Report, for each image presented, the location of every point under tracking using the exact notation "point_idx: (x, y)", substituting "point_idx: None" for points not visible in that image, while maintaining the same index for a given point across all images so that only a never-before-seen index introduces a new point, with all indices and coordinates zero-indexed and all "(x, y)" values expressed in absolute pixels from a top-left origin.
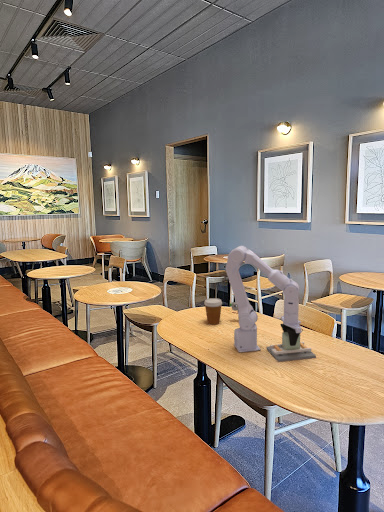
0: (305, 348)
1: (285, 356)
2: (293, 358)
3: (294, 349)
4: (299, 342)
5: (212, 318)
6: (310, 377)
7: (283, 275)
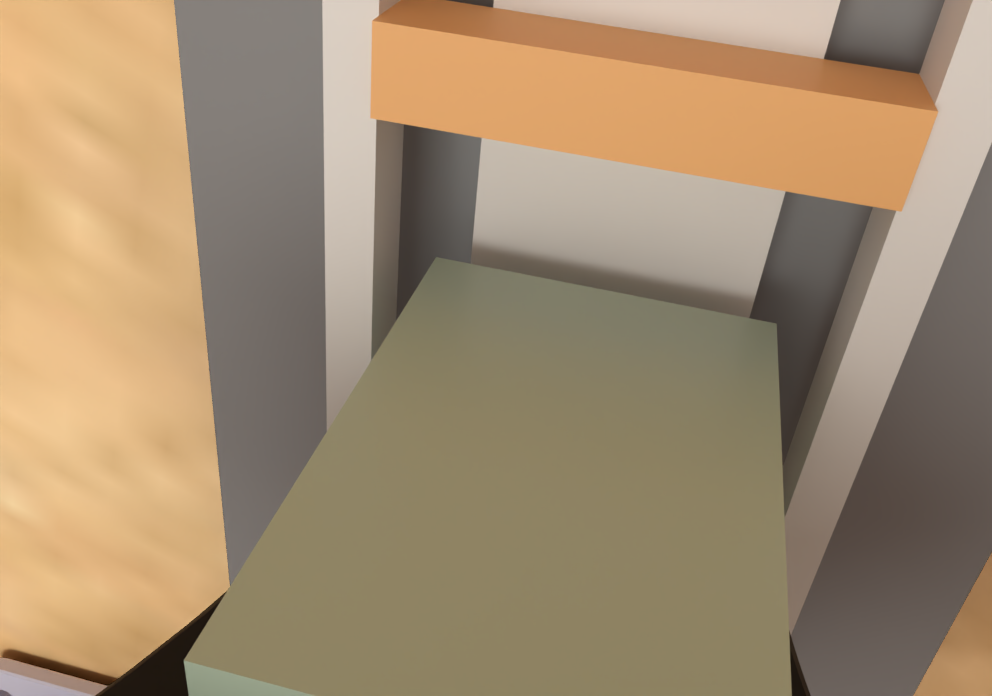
0: (920, 193)
1: None
2: (961, 581)
3: None
4: (777, 508)
5: None
6: None
7: None
